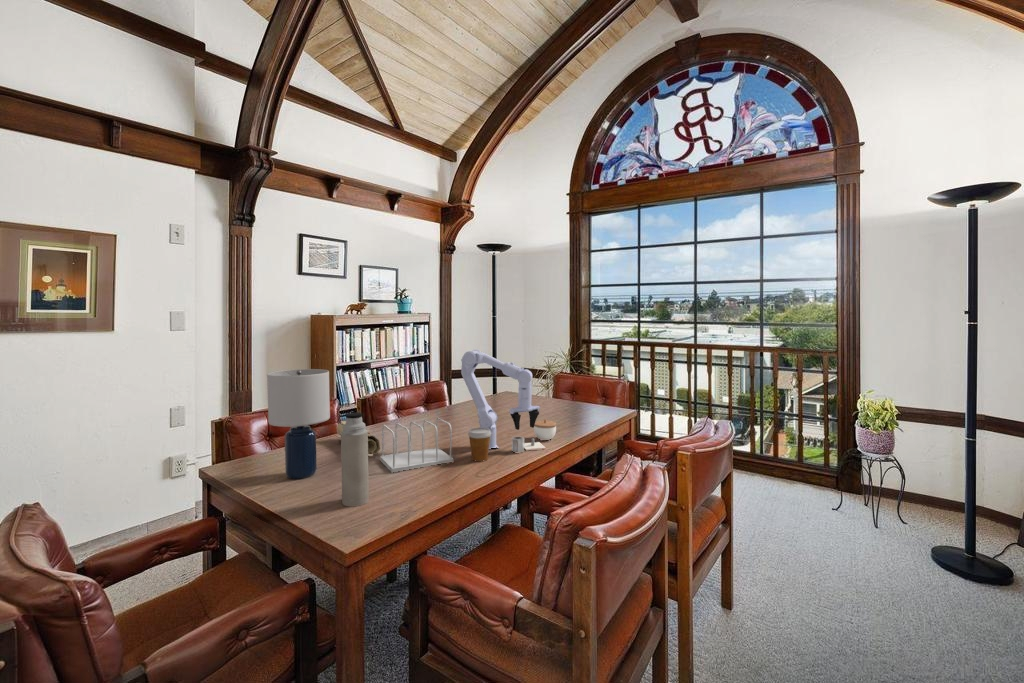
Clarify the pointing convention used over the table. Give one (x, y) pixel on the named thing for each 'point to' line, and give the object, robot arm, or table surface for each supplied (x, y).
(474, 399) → the robot arm
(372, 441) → the scroll
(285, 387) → the lamp
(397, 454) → the file sorter
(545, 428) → the lidded jar
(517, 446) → the collar
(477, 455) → the disposable coffee cup
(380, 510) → the table surface
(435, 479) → the table surface
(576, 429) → the table surface
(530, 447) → the white peg stand
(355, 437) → the thermos bottle
